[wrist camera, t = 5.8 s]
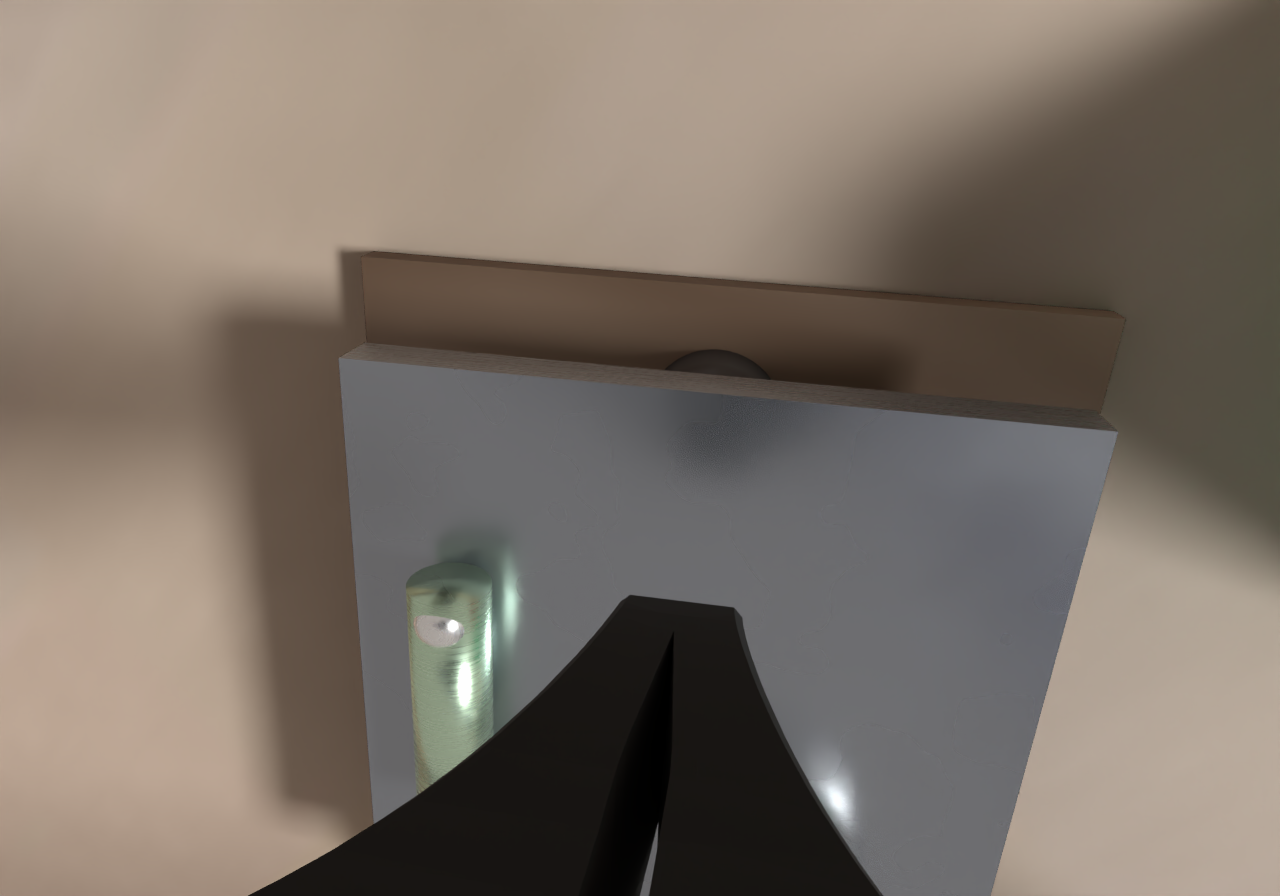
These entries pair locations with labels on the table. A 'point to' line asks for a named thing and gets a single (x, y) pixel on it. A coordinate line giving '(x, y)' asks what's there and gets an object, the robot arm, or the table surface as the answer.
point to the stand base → (744, 329)
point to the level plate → (726, 570)
